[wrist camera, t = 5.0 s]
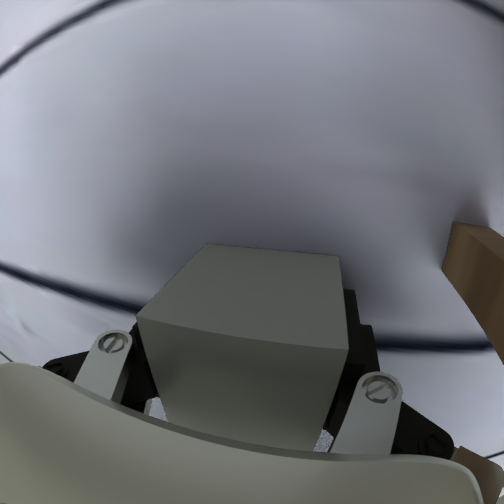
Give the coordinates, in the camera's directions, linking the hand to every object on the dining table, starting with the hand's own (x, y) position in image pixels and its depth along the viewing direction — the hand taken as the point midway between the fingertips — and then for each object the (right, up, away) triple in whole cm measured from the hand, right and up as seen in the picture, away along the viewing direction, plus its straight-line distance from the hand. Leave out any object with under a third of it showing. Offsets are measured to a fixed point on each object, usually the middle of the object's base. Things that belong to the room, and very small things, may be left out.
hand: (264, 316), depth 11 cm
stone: (0, 0, +1) cm, 1 cm away
